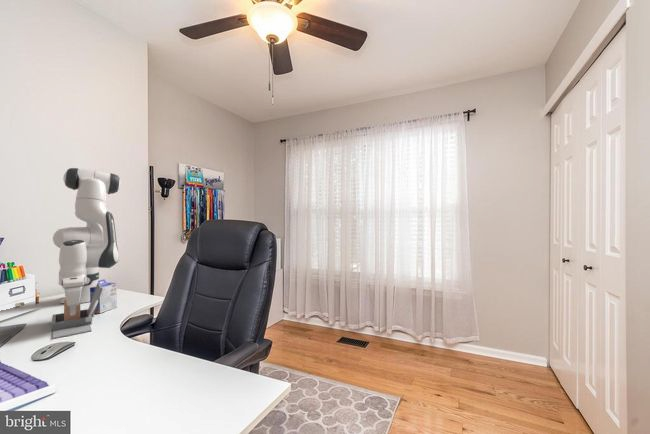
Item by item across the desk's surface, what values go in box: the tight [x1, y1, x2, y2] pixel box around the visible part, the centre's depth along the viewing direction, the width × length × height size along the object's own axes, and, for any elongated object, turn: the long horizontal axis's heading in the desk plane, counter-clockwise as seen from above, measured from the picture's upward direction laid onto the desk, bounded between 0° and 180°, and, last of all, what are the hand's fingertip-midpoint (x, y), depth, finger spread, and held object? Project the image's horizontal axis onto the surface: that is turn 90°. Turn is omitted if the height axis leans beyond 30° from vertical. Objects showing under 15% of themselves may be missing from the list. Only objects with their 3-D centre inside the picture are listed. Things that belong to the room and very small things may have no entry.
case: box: [51, 282, 103, 333], centre depth 119 cm, size 16×16×15 cm
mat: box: [52, 324, 92, 340], centre depth 110 cm, size 8×11×1 cm
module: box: [63, 299, 81, 321], centre depth 119 cm, size 5×5×11 cm
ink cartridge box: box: [89, 279, 118, 315], centre depth 135 cm, size 10×6×14 cm, turn 174°
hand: (72, 311), depth 119 cm, fingers open, 8 cm apart
